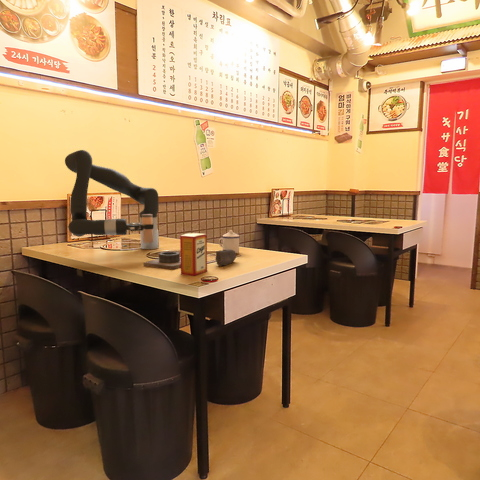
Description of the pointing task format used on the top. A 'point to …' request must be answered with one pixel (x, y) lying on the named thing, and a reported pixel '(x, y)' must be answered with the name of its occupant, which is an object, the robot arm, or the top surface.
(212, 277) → the top surface
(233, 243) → the teacup with lid
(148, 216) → the tan cylinder
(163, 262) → the socket board
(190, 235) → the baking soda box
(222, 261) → the perforated stone tool
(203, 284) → the top surface
